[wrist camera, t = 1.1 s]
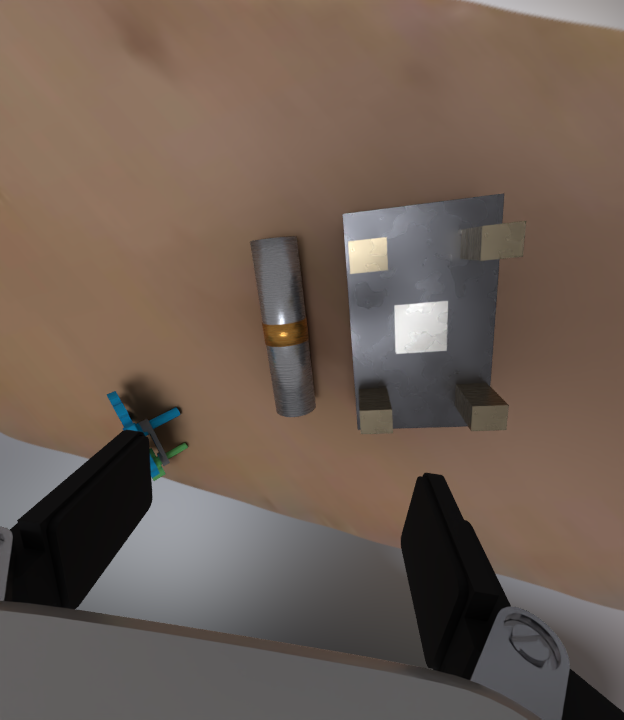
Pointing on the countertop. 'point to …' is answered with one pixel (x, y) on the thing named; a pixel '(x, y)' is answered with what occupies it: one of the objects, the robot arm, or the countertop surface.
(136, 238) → the countertop surface
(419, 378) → the grey plate with feet
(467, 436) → the countertop surface
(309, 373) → the tube
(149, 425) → the gear
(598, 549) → the countertop surface
